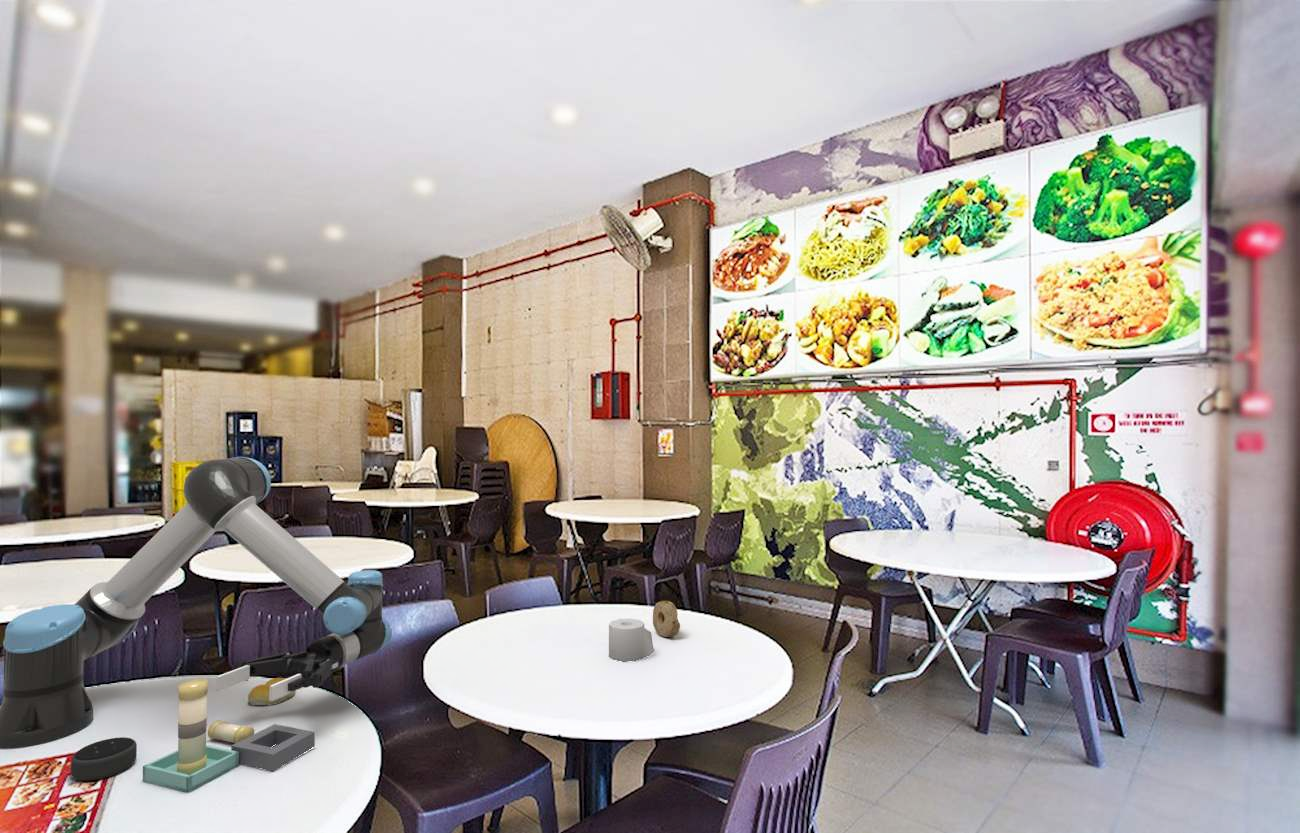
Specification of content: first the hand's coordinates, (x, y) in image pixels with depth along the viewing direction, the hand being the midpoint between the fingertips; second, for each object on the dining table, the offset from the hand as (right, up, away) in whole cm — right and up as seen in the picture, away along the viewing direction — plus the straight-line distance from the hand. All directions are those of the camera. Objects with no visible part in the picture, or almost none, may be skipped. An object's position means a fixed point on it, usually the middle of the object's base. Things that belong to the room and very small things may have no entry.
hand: (243, 688), depth 122 cm
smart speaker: (-20, -11, -8) cm, 24 cm away
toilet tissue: (+72, -13, +50) cm, 89 cm away
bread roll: (-8, -12, +22) cm, 26 cm away
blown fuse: (-3, -10, -9) cm, 14 cm away
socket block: (+7, -11, -3) cm, 14 cm away
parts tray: (-3, -11, -9) cm, 15 cm away
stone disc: (+82, -13, +66) cm, 106 cm away
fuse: (-4, -11, +2) cm, 12 cm away
